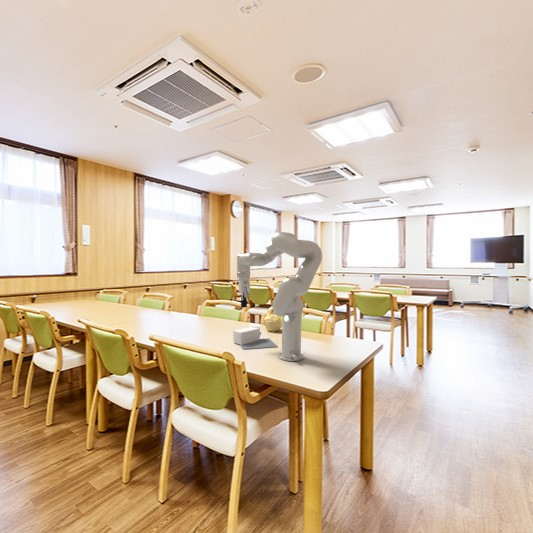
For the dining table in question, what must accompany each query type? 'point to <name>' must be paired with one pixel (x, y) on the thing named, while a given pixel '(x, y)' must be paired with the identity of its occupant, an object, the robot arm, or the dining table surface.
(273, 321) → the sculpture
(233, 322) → the dining table surface
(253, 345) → the back mat
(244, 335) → the milk carton
